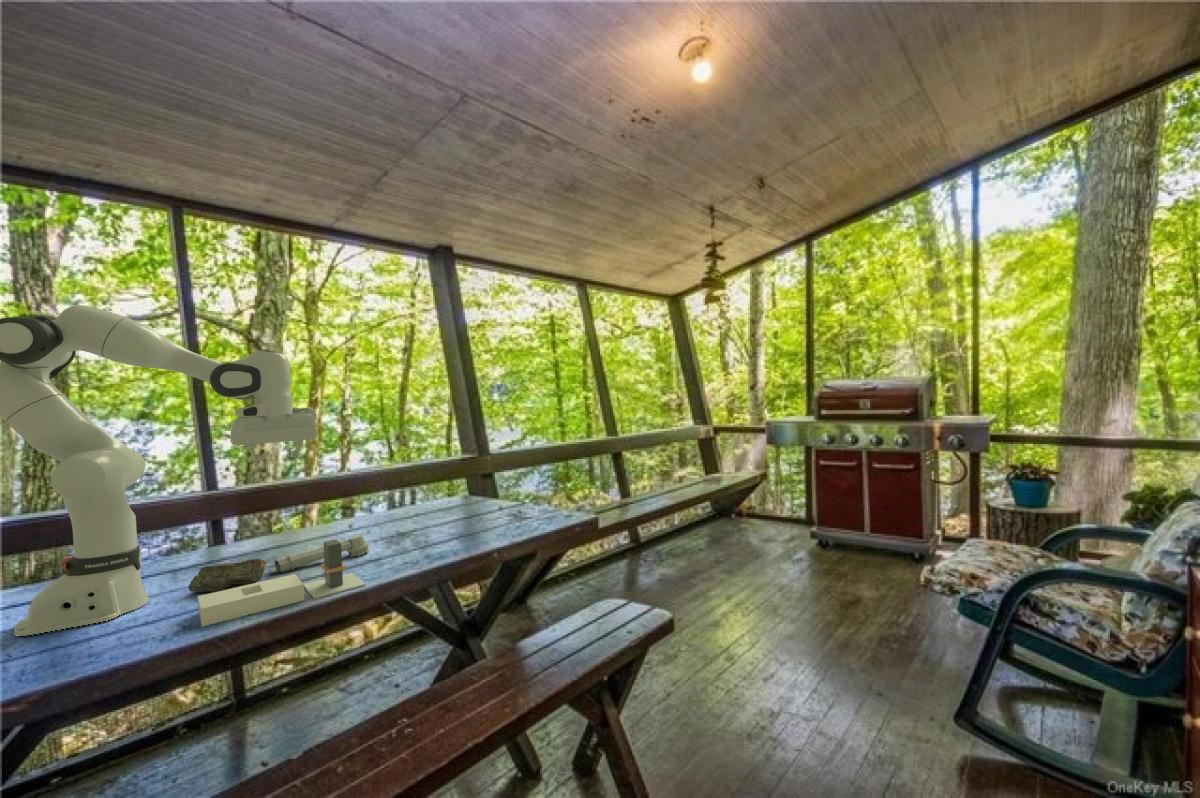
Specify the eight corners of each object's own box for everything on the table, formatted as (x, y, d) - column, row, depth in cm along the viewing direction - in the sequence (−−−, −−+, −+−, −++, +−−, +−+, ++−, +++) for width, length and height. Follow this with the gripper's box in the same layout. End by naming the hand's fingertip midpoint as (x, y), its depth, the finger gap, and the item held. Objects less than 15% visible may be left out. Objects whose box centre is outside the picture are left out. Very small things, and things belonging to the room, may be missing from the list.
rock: (263, 556, 149) (268, 555, 142) (264, 581, 147) (269, 580, 140) (187, 569, 138) (188, 568, 131) (187, 596, 136) (189, 596, 129)
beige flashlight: (273, 558, 150) (362, 528, 166) (278, 579, 151) (366, 548, 167) (276, 562, 146) (368, 531, 162) (281, 584, 147) (372, 552, 163)
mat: (314, 599, 128) (314, 597, 128) (303, 586, 137) (303, 584, 137) (365, 585, 135) (365, 583, 135) (352, 574, 144) (352, 572, 144)
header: (201, 626, 114) (200, 608, 114) (198, 613, 121) (197, 596, 121) (304, 600, 127) (303, 584, 127) (295, 589, 135) (295, 574, 134)
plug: (328, 589, 132) (326, 546, 132) (321, 583, 137) (319, 541, 137) (346, 585, 135) (344, 543, 135) (339, 578, 140) (338, 538, 140)
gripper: (313, 407, 152) (315, 454, 152) (228, 410, 139) (230, 462, 139) (318, 407, 147) (320, 455, 148) (230, 411, 134) (233, 464, 134)
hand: (276, 458), depth 143 cm, fingers open, 8 cm apart
